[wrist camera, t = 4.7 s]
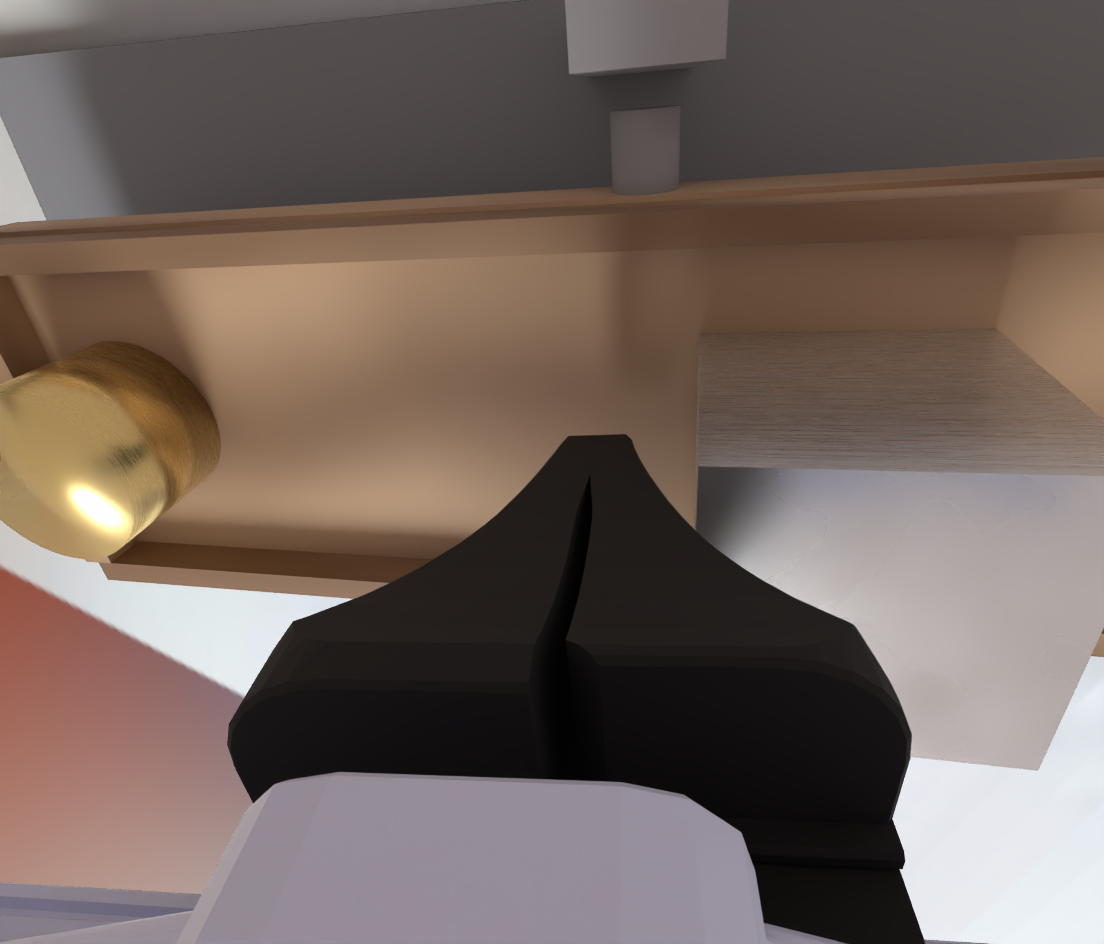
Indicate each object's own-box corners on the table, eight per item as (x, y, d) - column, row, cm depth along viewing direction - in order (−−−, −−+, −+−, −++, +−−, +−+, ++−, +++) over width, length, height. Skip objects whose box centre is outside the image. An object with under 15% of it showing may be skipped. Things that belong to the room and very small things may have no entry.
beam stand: (1165, 550, 21) (1361, 719, 15) (208, 554, 25) (87, 689, 19) (1484, -102, 13) (2144, -245, 7) (-5, 61, 17) (-315, 49, 11)
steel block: (935, 558, 14) (1038, 770, 10) (692, 546, 15) (689, 732, 11) (996, 328, 11) (1172, 477, 7) (699, 333, 12) (698, 466, 8)
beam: (1326, 641, 15) (1431, 737, 12) (175, 562, 21) (116, 616, 19) (1772, 12, 9) (2109, -9, 7) (-11, 162, 15) (-126, 176, 13)
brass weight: (242, 490, 17) (159, 564, 14) (110, 485, 17) (11, 553, 15) (185, 339, 15) (78, 394, 12) (40, 341, 15) (-88, 392, 13)
